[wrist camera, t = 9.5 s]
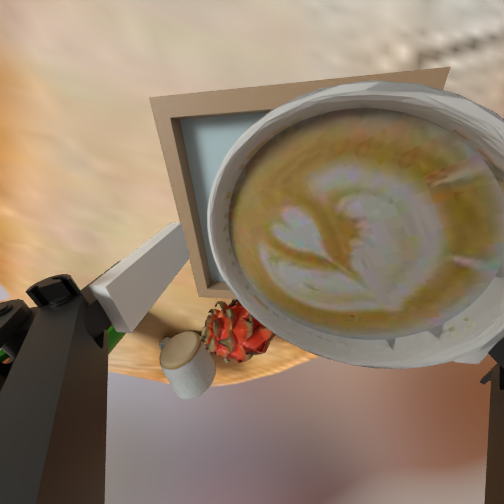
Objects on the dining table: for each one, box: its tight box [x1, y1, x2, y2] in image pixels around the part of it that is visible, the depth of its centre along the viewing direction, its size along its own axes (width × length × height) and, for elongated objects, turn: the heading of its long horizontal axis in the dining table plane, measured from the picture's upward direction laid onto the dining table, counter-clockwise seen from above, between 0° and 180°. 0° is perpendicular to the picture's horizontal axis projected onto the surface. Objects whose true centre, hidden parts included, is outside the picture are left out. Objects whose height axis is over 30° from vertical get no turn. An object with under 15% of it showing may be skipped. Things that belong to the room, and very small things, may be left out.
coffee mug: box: [207, 80, 504, 369], centre depth 11 cm, size 13×10×10 cm
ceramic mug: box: [159, 331, 216, 399], centre depth 33 cm, size 11×8×8 cm
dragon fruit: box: [200, 299, 275, 363], centre depth 27 cm, size 8×8×12 cm
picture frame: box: [149, 67, 450, 299], centre depth 19 cm, size 18×18×6 cm
